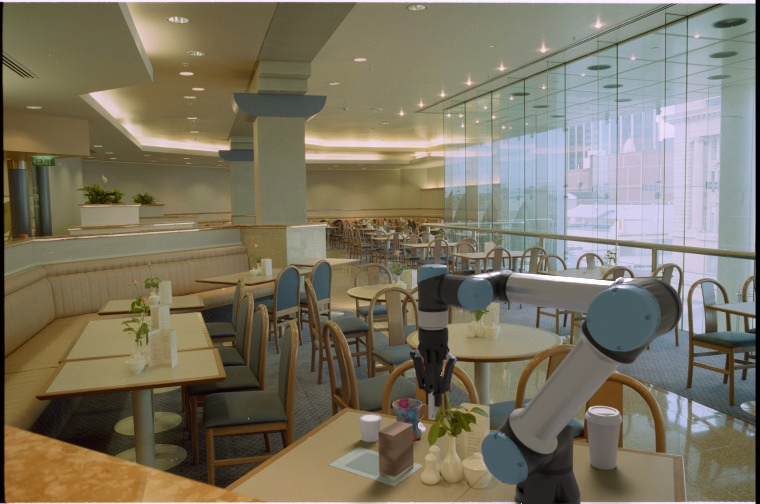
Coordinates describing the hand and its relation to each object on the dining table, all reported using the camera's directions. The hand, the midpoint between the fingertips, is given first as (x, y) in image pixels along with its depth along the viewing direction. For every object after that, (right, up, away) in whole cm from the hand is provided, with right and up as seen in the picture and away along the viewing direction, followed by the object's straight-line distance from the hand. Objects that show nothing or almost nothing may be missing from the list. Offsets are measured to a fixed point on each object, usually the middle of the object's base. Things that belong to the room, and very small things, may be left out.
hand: (433, 417), depth 149 cm
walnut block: (-9, -17, +8) cm, 21 cm away
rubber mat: (-15, -17, +12) cm, 26 cm away
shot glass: (-16, -16, +31) cm, 38 cm away
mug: (-4, -15, +33) cm, 36 cm away
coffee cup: (+47, -16, +11) cm, 51 cm away
